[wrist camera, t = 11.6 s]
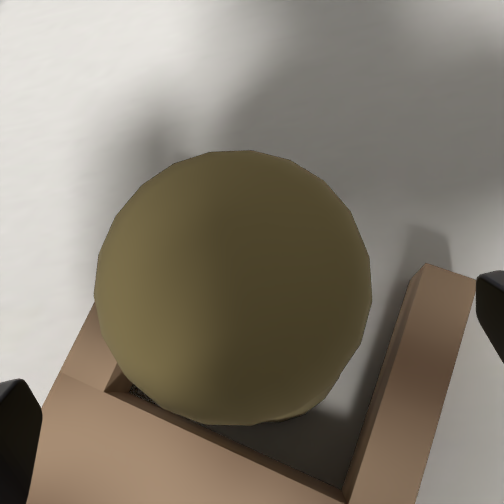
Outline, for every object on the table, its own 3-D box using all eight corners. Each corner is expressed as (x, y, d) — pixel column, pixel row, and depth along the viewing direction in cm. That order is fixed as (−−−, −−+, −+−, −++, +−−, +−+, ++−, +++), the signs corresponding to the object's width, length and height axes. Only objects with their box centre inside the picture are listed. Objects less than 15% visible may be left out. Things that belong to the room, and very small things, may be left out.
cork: (266, 460, 16) (208, 571, 6) (158, 339, 18) (-33, 261, 8) (380, 340, 17) (501, 253, 7) (267, 235, 19) (227, 38, 9)
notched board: (264, 939, 13) (256, 1056, 11) (-71, 707, 15) (-137, 762, 13) (455, 296, 18) (478, 280, 15) (175, 198, 20) (159, 172, 18)
